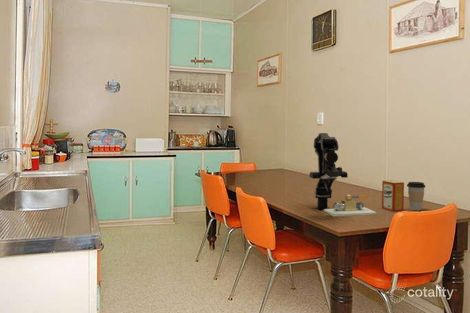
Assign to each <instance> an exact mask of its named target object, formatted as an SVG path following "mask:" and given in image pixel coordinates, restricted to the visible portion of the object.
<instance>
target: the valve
mask: <svg viewBox="0 0 470 313" xmlns="http://www.w3.org/2000/svg"><path fill="white" fill-rule="evenodd" d="M363 207H365V206H364V202H362V201H356V200H354V199H353V198H352V199H343V198H342V199H341V202H340V203H339V202H338V201H337V202H335V203H333V206H332V209H335V210H336V211H339V209H341V210H343V211H356V209H357V208H358V210H361V209H362V208H363Z"/></svg>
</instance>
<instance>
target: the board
mask: <svg viewBox="0 0 470 313" xmlns="http://www.w3.org/2000/svg"><path fill="white" fill-rule="evenodd" d="M323 212H324V213H326V214H328V215H330V216H332V217H333V218H334V217H335V218H336V217H350V216H373V215H377V211H374V210H372V209H370V208H367V207H365V206H364V207H363V208H362V209H361V210H358V208H357V209H356V211H343V210H341V209H339V211H336V210H335V209H334V208H330V209H323Z"/></svg>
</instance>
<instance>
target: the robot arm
mask: <svg viewBox="0 0 470 313" xmlns="http://www.w3.org/2000/svg"><path fill="white" fill-rule="evenodd" d="M339 147H340V146H339V143H338V139H337V138H336V137H335V136H330V135H329V133H326V132H323V133H322V132H321V133H320V132H319V133H318V135H317V136H316V137H315V138H314V140H313V149H314V152H315V154H316V156H317V168H318V171H310V172H309V178H311V179H318V181H317V184H316V187H315V189H314V198H315V199H317V205H316V206H315V208H316V209H317V210H324V209H331V208H330V207H328V204H329V203H328V199H332V193H333V190H332V188H331V187H332V186H333V183H334V182H335V181H336V180H337V179H338V177H340V178H343V179H345V178H349V177H348V172H347V171H344V170H343V168H342V166H339V167H336V163H337V161H338V159H339V156H338V155H339V154H338V153H336V151H338V150H339Z"/></svg>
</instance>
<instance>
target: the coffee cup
mask: <svg viewBox="0 0 470 313" xmlns="http://www.w3.org/2000/svg"><path fill="white" fill-rule="evenodd" d="M406 187H407V188H408V189H407V190H408V193H407V194H408V203H409V209H410V210H411V211H414V210H418V212H420V211H419V210H421V211H422V210H423V209H422V208H423V202H424V195H425V188H426V184H425V183H424V182H422V181H409V182H408V183H407V184H406Z"/></svg>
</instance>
